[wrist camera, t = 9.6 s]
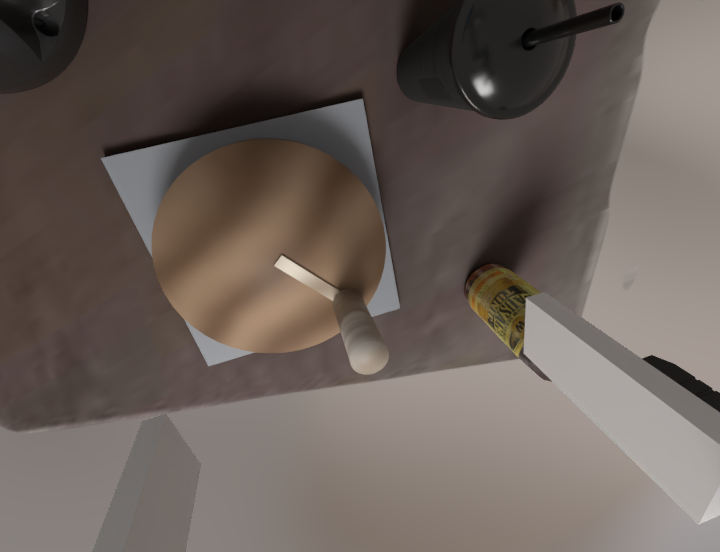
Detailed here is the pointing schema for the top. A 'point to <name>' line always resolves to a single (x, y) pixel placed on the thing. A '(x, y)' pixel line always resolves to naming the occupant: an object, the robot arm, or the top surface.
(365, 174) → the wheel stand
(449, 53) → the drinking cup
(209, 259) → the handwheel
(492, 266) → the sauce bottle
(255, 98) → the top surface
